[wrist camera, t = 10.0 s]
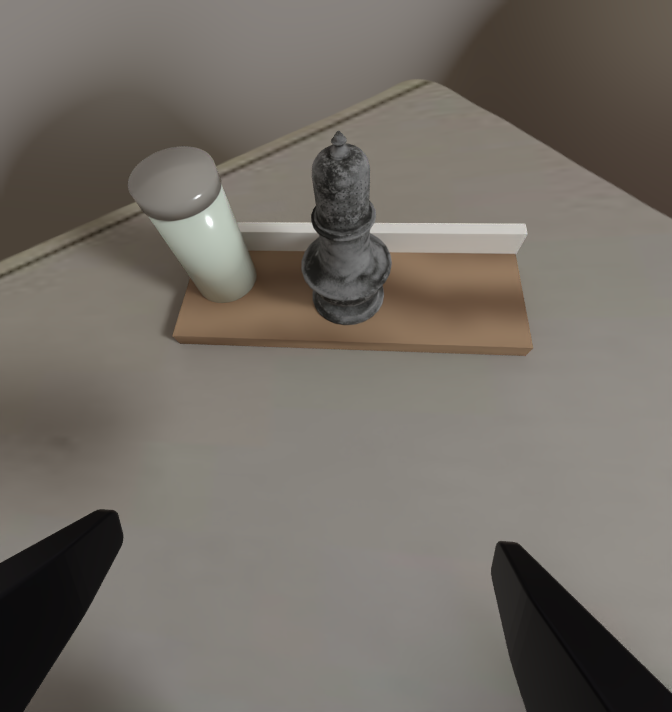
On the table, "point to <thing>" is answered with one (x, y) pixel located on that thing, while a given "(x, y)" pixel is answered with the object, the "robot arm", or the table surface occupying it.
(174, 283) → the table surface
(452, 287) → the shelf board
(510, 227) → the rail
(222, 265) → the sage ceramic jar
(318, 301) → the grey chess piece
